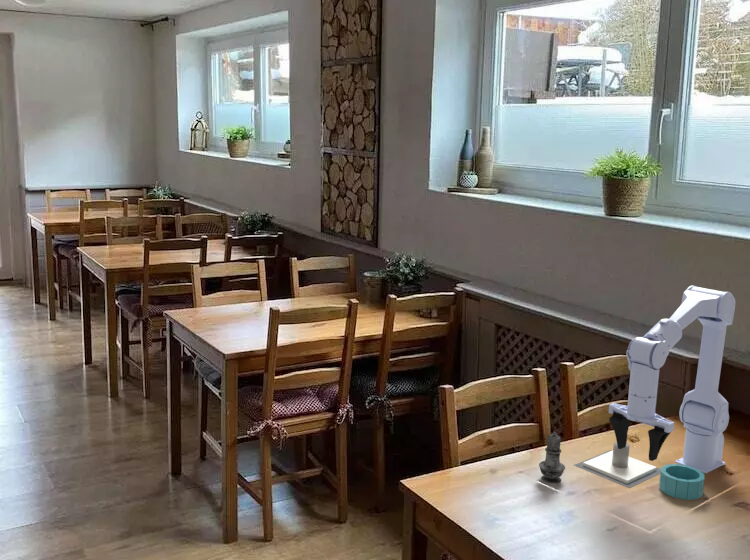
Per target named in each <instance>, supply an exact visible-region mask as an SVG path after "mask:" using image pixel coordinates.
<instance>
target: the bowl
mask: <svg viewBox="0 0 750 560" xmlns="http://www.w3.org/2000/svg"><path fill="white" fill-rule="evenodd" d="M660 469H661V473H660V474H659V487H658V489H659V490H660V491H661V492H662V493H663V494H665V495H667V496H669V497H672V498H675V499H679V500H686V501H688V500H689V501H690V500H698V499H699V498H702V497H703V495H704V487H705V480H706V479H705V473H703V472H701V471H699V470H698V469H695V468H693V467H690V466H686V465H681V464H678V463H673V464H671V463H669V464H664V465H663V466H661V467H660Z"/></svg>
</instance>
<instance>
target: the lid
mask: <svg viewBox="0 0 750 560" xmlns="http://www.w3.org/2000/svg"><path fill="white" fill-rule="evenodd" d="M630 447H631V446H630V444H629V443H628V442H627V443H626V447H625V448H622V449H618V446H617V441H615V442H613V449H611V450H612V451H610V452H607V451H606V452H607V453H605V452H604V453H605V454H603V455H600V454H599V455H600V456H598V457H595V456H594V457H595V458H593V459H590V458H589V459H590V460H588V461H586V462H583V461H582V462H583V466H585V467H588V468H590V469H592V470H595V471H597V472H600V473H602V474H605V475H607V476H610V477H612V478H614V479H617V480H619V481H622V482H624V483H627V484H628V483H630V482H632V481H634V480H637V479H639V478H641V477H643V476H645V475H647V474H649V473H652V472H654V471H656V469H657V468H658V466H655V465H652V464H649V463H647V462H644V461H642V460H640V459H636V458H634V457H631V456H630Z"/></svg>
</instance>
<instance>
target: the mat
mask: <svg viewBox="0 0 750 560" xmlns="http://www.w3.org/2000/svg"><path fill="white" fill-rule="evenodd" d="M612 450H613V449H609V450H607V451H605V452H603V453H600V454H597V455H595V456H593V457H590V458H588V459H585V460H583V461H580V462H578V463H575V464H574V465H573V466H575V467H577V468H579V469H582V470H585V471H586V472H590V473H592V474H594V475H596V476H599V477H602V478H604V479H606V480H608V481H611V482H614V483H616V484H618V485H621V486H622V487H625V488H628V489H630V488H633V487H635V486H638V485H639V484H641V483H644V482H646V481H647V480H650V479H652V478H654V477H656V476H658V475H660V474H661V468H659V467H657V469H656V471H654V472H652V473H649V474H647V475H645V476H643V477H641V478H639V479H637V480H634V481H632V482H630V483H628V484H627V483H624V482H622V481H619V480H617V479H614V478H612V477H610V476H607V475H605V474H602V473H600V472H597V471H595V470H592V469H590V468H588V467H585V466H583V462H586V461H588V460H590V459H593V458H595V457H598V456H600V455H603V454H605V453H607V452H610V451H612Z"/></svg>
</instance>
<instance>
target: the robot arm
mask: <svg viewBox="0 0 750 560" xmlns="http://www.w3.org/2000/svg"><path fill="white" fill-rule="evenodd" d="M735 308H736V298H735V297H734V295H733V294H732V292H730V291H721V290H717V289H711V288H705V287H699V286H696V285H690V286H688V287H687V288H686V289H685V291H683V294H682V299H681V304H680V306H678V308H677V309H676V310H674V312H673V314H672V315H671V316H670V317H669V318H661V319H660V320H659V321H658V322H657V323H656V324H655V325H654V326H653V327H651V328H650V330H648V331H647V332H646V333H645V334H644V336H637V337H636V338H632V339H631V341H630V342H629V344H628V347H627V350H626V351H625V352H626V359H627V362H628V365H627V366H628V367H627V368H628V370H629V371H630V375H629V376H630V377H629V385H628V386H629V387H628V398H627V405H624V404H619V403H616V402H612V403H610V404H609V406H608V414H611V415H612V416H610V417H609V418H608V419H609V422H610V425H611V426H612V429H613V431H614V435H615V438H616V440H615V441H616V442H617V446H618V449H622V448H625V447H626V443H627V444H628V442H627V441H628V432H629V429H630V428H629V427H630V425H631V421H632V422H638V423H642V424H644V425H647V426H651V427H653V428H651V429H649V430H647V434H648V438H649V449H648V460H649V461H651V462H653V461H655V460H657V459H658V456H659V453H660V450H661V448H662V446H663V444H664V442H665V441H666V439H668V437H669V436H670V434H671V433H672V432H674V430H675V422H674V421H672V420H669V419H667V418H665V417H663V416H661V415H659V414H658V413H656V408H657V400H658V399H657V397H658V387H659V377H660V368H663V366H664V365H665V363H666V360H667V357H668V356H669V354H670V350H672V348H673V347H674V346H675V345H676V344H677V343H678V342H680V340H681V339H682V337H683V330H684V329H685V328H687V327H688V326H689V325H690V324H691V323H693V322H694V321H695V320H697V319H698V321H699V322H700V324H701V325H702V334H701V341H700V349H699V355H698V363H697V368H696V369H697V370H696V372H697V373H696V378H695V384H694V385H695V386H694V389H692V390H689V391H688V392H686V393H685V394H684V396H683V400H682V403H681V405H680V408H679V413H678V414H679V419H680V422H681V423H683V428H685V434H684V435H685V436H684V446H683V455H682V457H680V458H679V459H676V460H675V461H674V462H675V464H680V465H686V466H690V467H693V468H695V469H698V470H699V471H701V472H702V473H703V474H708V473H710V472H712V471H714V470H717V469H718V468H720V467H722V466H724V465H726V462H725V461H723V451H724V443H725V437H724V436H725V435H724V433H723V432H725V431H726V430H727V427H728V425H729V420H730V415H729V402H728V401H727V399H726V398H725V397H724V396H723V395H722V394H721V393H720V392H719V385H720V377H721V369H722V364H723V356H724V348H725V340H726V333H727V326H731V325H733V321H734V319H735V318H734V317H735V316H734V315H735V310H736V309H735Z"/></svg>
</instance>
